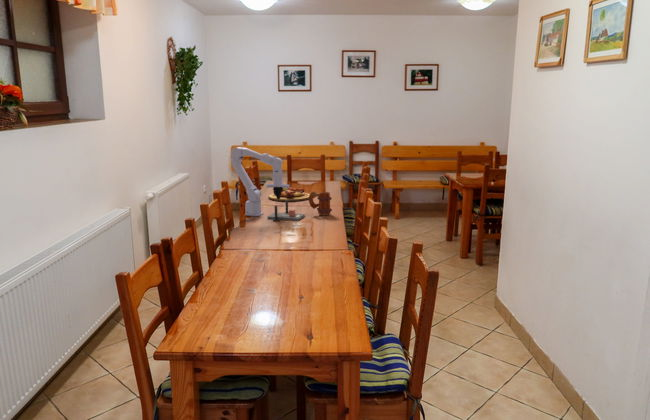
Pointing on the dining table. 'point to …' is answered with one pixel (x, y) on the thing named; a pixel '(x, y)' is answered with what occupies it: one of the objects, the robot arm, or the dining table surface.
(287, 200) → the post
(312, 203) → the mug
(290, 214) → the knob
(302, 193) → the wooden plate with food
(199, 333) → the dining table surface
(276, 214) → the post
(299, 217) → the breaker panel
